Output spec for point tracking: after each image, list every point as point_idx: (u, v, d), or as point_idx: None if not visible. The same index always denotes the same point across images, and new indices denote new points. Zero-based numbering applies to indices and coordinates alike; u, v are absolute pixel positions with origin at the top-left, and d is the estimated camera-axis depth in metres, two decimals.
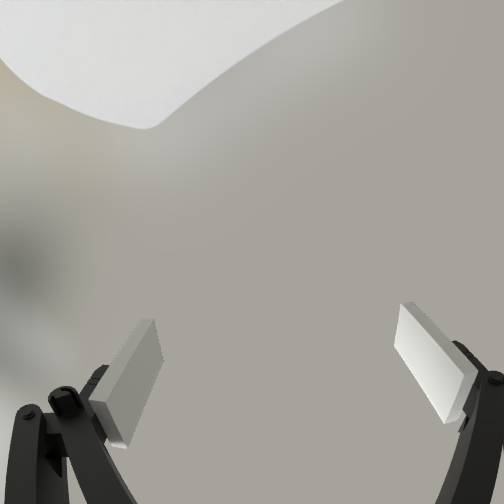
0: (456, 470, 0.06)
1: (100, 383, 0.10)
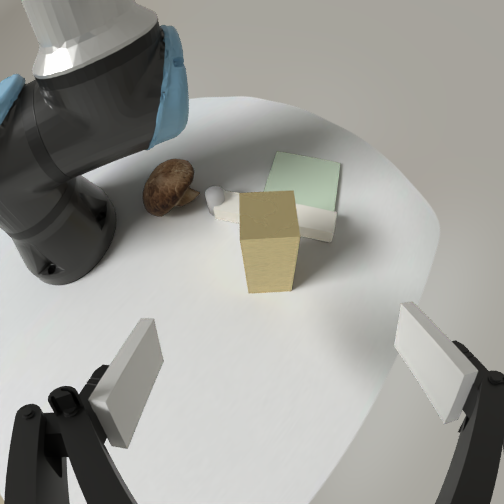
0: (456, 470, 0.06)
1: (100, 383, 0.10)
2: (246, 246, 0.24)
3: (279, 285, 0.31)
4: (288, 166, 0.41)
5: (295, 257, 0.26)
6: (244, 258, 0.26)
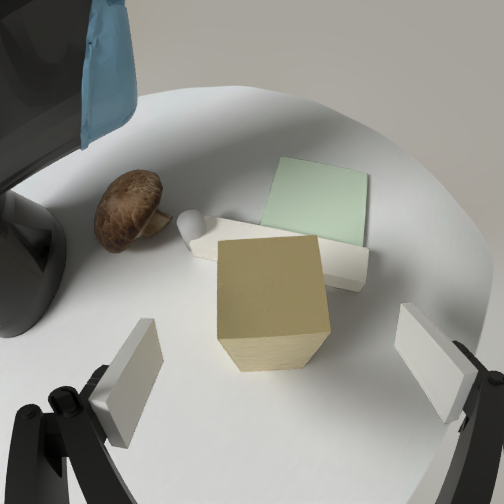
0: (456, 470, 0.06)
1: (100, 383, 0.10)
2: (230, 344, 0.13)
3: (286, 366, 0.20)
4: (296, 178, 0.29)
5: (316, 348, 0.15)
6: (229, 352, 0.15)
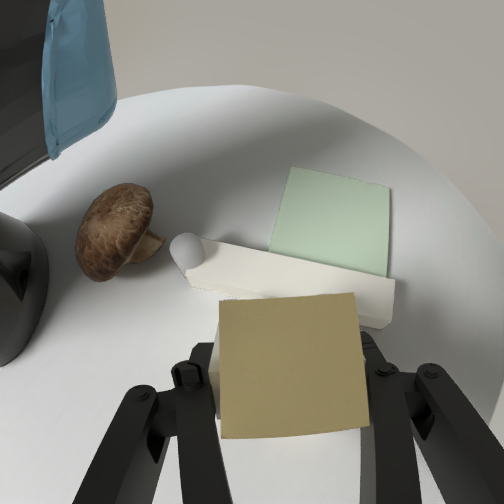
0: (369, 470, 0.07)
1: (213, 356, 0.12)
2: None
3: None
4: (310, 193, 0.25)
5: None
6: None
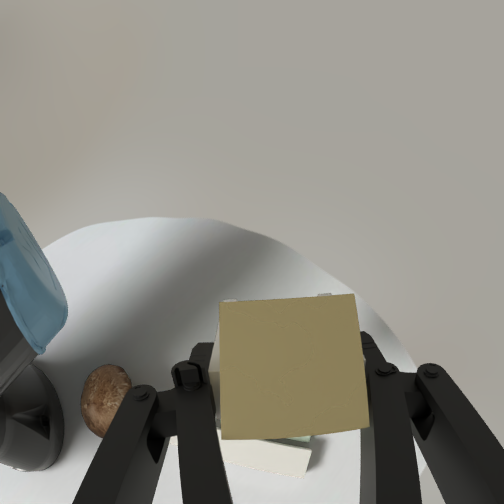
0: (369, 470, 0.07)
1: (213, 356, 0.12)
2: None
3: None
4: None
5: None
6: None
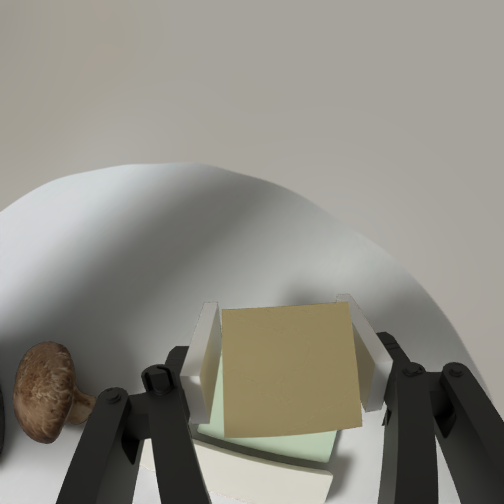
0: (390, 468, 0.07)
1: (186, 360, 0.12)
2: None
3: None
4: None
5: None
6: None
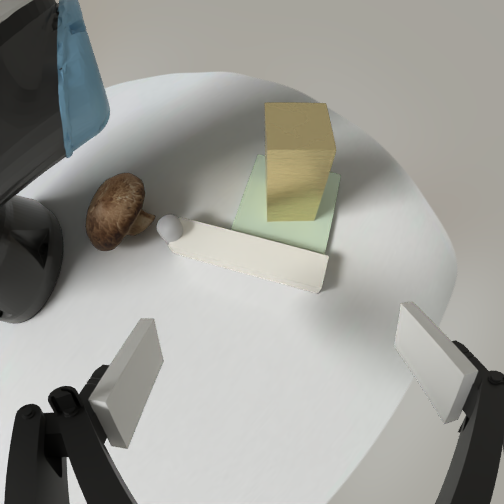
0: (456, 470, 0.06)
1: (100, 383, 0.10)
2: (273, 159, 0.20)
3: (302, 212, 0.28)
4: None
5: (326, 177, 0.22)
6: (268, 175, 0.22)
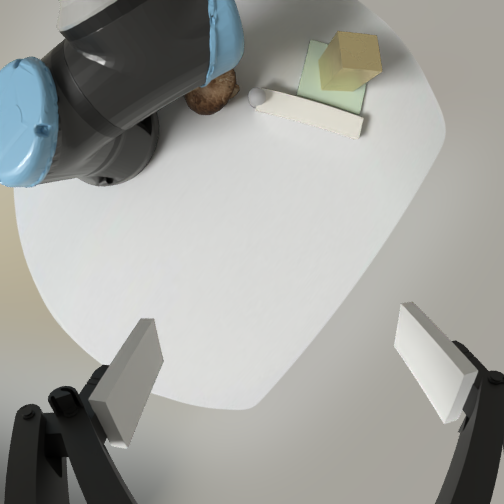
0: (456, 470, 0.06)
1: (100, 383, 0.10)
2: (343, 70, 0.28)
3: (347, 88, 0.35)
4: None
5: (370, 78, 0.30)
6: (336, 75, 0.29)
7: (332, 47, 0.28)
